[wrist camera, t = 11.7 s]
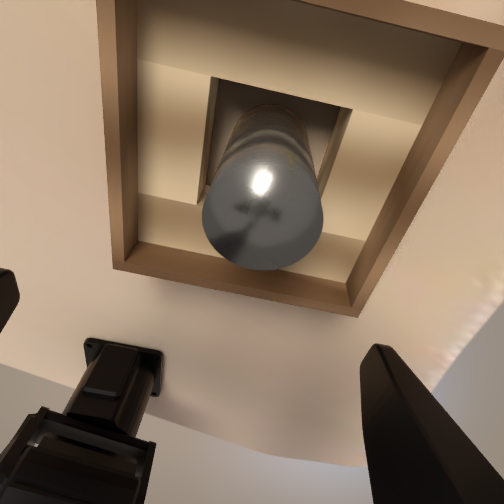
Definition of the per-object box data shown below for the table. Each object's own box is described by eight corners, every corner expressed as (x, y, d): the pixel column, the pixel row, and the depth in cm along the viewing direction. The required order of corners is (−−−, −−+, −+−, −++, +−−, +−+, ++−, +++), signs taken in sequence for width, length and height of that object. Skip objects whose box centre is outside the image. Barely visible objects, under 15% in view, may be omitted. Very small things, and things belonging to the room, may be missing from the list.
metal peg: (296, 187, 19) (303, 280, 12) (226, 172, 19) (196, 258, 12) (317, 114, 16) (341, 180, 10) (238, 96, 16) (209, 151, 10)
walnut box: (345, 266, 22) (357, 317, 18) (142, 224, 21) (112, 268, 17) (457, 25, 14) (519, 30, 10) (143, -54, 13) (91, -79, 10)
